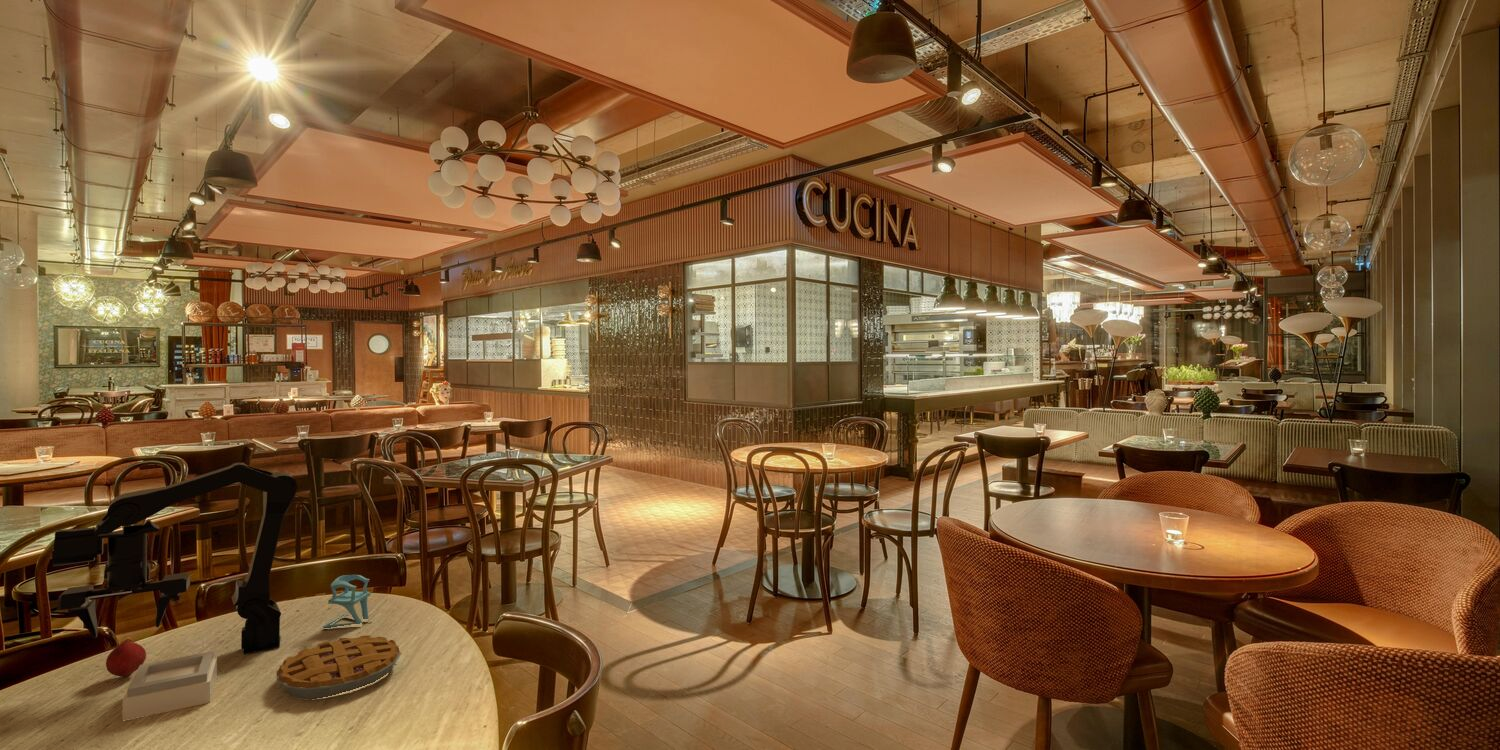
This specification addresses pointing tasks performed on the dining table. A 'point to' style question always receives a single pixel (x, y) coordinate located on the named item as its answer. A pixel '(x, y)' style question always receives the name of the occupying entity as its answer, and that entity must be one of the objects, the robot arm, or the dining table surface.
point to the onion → (125, 658)
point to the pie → (337, 666)
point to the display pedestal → (170, 685)
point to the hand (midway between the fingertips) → (127, 631)
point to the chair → (349, 598)
